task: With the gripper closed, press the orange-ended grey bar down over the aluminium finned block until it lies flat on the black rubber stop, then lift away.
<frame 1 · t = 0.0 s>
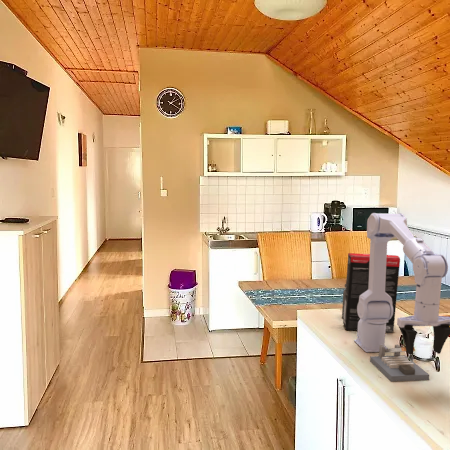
hand: (423, 352, 119), 10 cm above the counter, tool pointing down, fingers open, 7 cm apart
orange-ended grey bar: (398, 349, 131), point 6 cm above the counter, hinge at 25.0°
heatsink base: (398, 370, 131), on the counter
bottle: (349, 318, 176), on the counter
graphics card box: (368, 329, 164), on the counter
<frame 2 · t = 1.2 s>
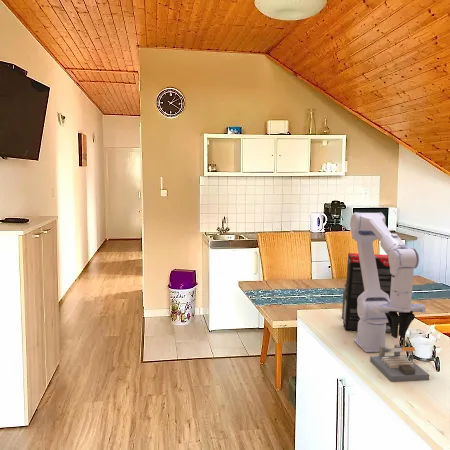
hand: (397, 336, 132), 9 cm above the counter, tool pointing down, fingers closed
nothing on the counter moved.
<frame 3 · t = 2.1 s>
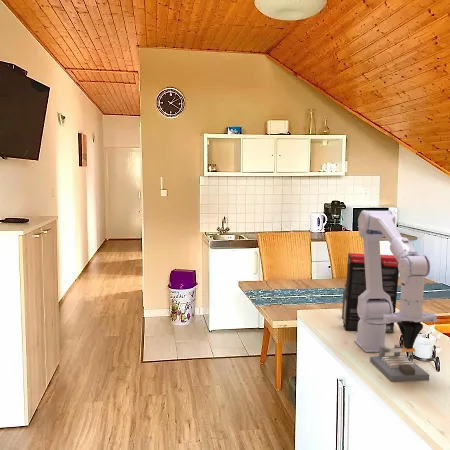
hand: (408, 347, 126), 9 cm above the counter, tool pointing down, fingers closed, pressing on orange-ended grey bar
orange-ended grey bar: (398, 350, 131), point 6 cm above the counter, hinge at 24.0°, touching gripper
everything else where it was.
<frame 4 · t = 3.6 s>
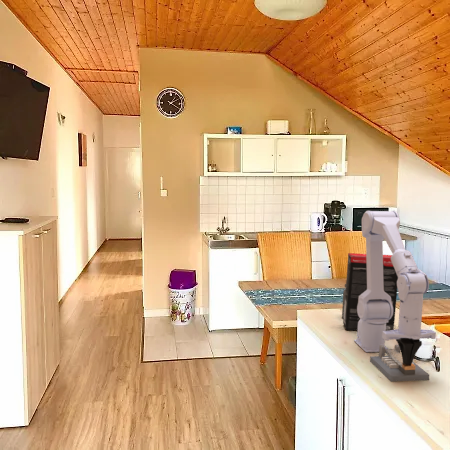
hand: (407, 363, 127), 4 cm above the counter, tool pointing down, fingers closed, pressing on orange-ended grey bar
orange-ended grey bar: (399, 358, 131), point 3 cm above the counter, hinge at -0.5°, touching gripper
everything else where it was.
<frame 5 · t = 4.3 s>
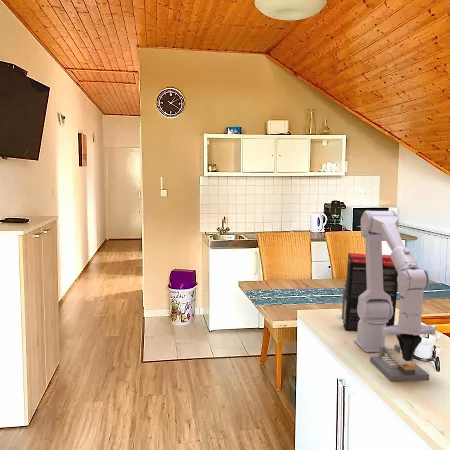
hand: (406, 359, 127), 5 cm above the counter, tool pointing down, fingers closed
orange-ended grey bar: (399, 358, 131), point 3 cm above the counter, hinge at -0.5°
everything else where it was.
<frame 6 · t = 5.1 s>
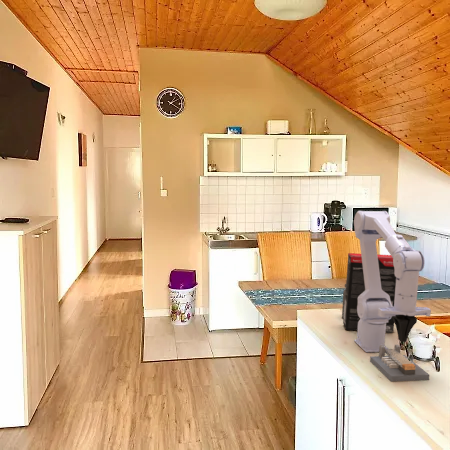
hand: (402, 340, 129), 9 cm above the counter, tool pointing down, fingers closed
nothing on the counter moved.
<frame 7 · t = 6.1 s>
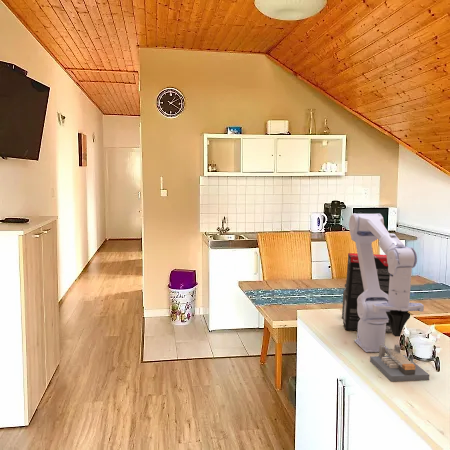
hand: (396, 335, 133), 9 cm above the counter, tool pointing down, fingers closed
nothing on the counter moved.
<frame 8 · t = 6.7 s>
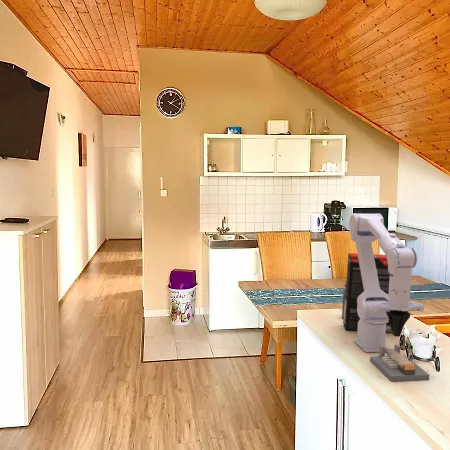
hand: (396, 335, 133), 9 cm above the counter, tool pointing down, fingers closed
nothing on the counter moved.
at the end: orange-ended grey bar at +0° (first picture: +25°); the gripper is holding nothing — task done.
